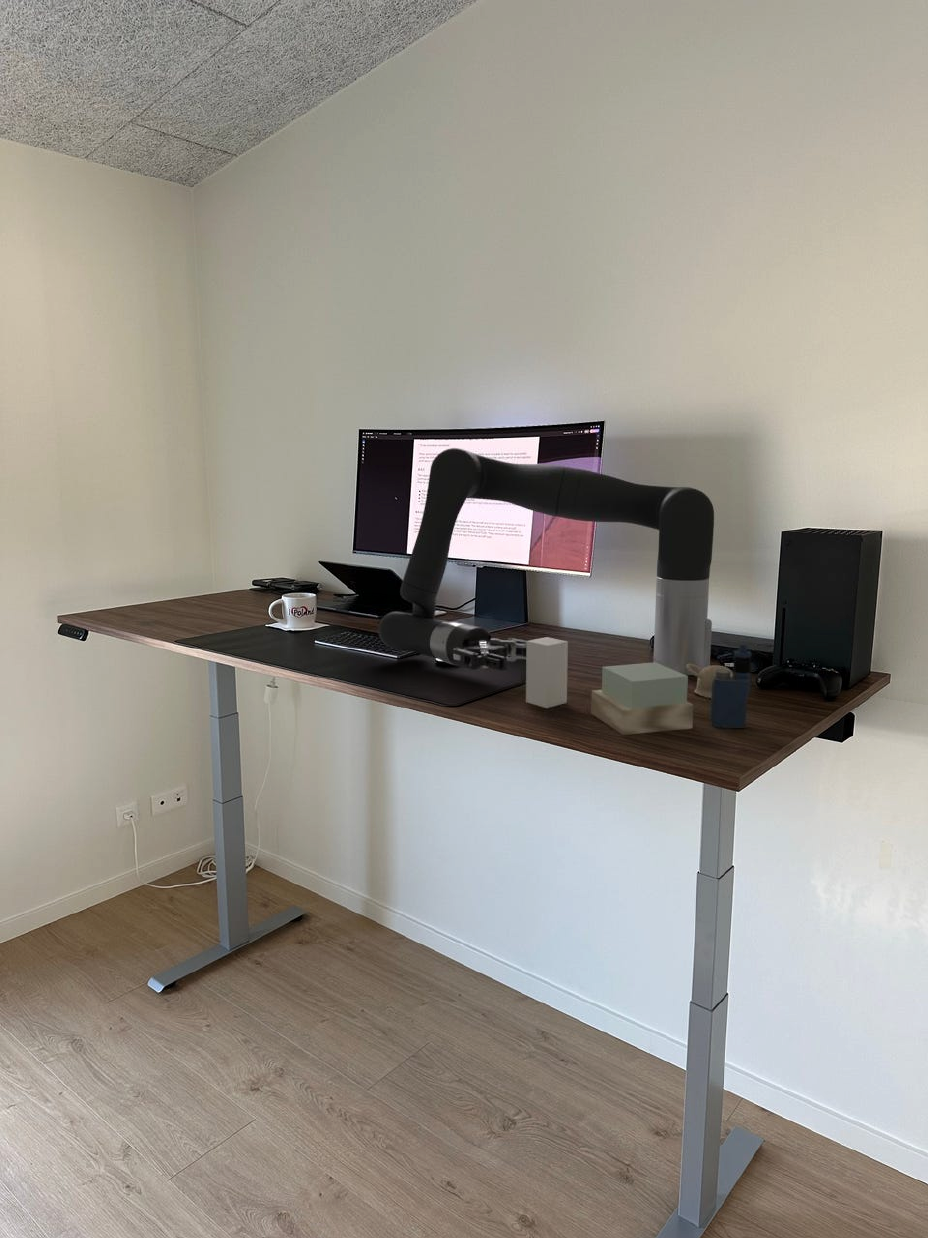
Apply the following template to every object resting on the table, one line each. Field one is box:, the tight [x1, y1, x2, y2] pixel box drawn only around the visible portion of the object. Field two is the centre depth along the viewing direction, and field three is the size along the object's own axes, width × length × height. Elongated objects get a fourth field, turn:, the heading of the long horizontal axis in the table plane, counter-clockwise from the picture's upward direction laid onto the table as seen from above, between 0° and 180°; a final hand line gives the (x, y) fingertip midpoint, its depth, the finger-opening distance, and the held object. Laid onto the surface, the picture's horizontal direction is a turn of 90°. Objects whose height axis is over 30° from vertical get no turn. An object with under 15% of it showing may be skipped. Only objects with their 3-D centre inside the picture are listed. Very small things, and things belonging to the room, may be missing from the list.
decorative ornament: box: [686, 664, 733, 699], centre depth 139 cm, size 4×8×5 cm, turn 76°
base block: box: [590, 689, 694, 736], centre depth 126 cm, size 11×11×4 cm
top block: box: [601, 662, 689, 709], centre depth 125 cm, size 9×9×4 cm
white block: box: [525, 636, 569, 709], centre depth 135 cm, size 5×5×10 cm
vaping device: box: [709, 644, 752, 729], centre depth 122 cm, size 3×5×12 cm, turn 79°
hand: (524, 660), depth 138 cm, fingers open, 8 cm apart
